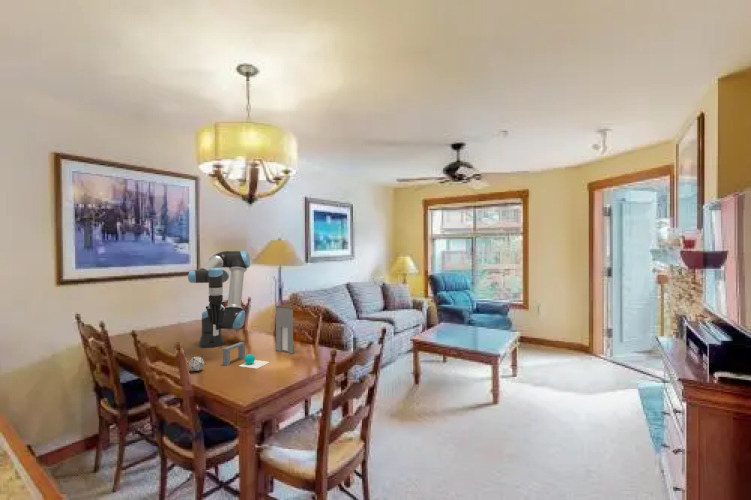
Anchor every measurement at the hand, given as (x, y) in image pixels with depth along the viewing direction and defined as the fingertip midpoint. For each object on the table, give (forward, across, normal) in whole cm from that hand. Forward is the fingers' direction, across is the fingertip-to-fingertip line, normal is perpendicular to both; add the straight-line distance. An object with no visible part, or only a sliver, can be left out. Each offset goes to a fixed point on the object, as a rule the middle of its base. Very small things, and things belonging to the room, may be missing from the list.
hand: (215, 335), depth 222 cm
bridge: (+14, +13, 0) cm, 19 cm away
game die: (+14, +6, -20) cm, 25 cm away
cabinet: (+14, +26, +30) cm, 42 cm away
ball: (+11, +24, -1) cm, 27 cm away
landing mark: (+14, +27, 0) cm, 30 cm away
